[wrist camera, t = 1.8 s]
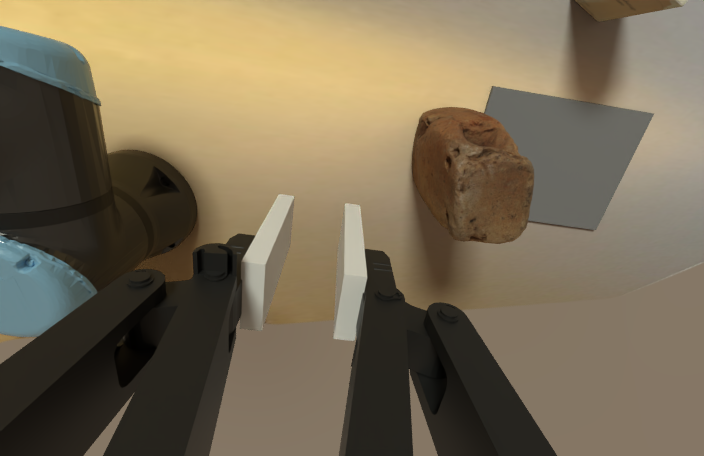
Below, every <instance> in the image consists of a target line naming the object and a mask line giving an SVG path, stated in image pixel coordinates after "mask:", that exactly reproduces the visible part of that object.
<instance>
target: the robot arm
mask: <svg viewBox="0 0 704 456" xmlns="http://www.w3.org/2000/svg"><path fill="white" fill-rule="evenodd" d="M99 106H101V102H100V100H99V99H98V98H97V96H96V91H95V87H94V82H93V78H92V74H91V69H90V66H89V64H88V62H87V60H86V58H85V57H84V56H83V55H82V54H81V53H80V52H79V51H78V50H77V49H75V48H74V47H72V46H70V45H68V44H66V43H63V42H60V41H57V40H53V39H50V38H46V37H42V36H39V35H35V34H31V33H27V32H23V31H19V30H15V29H11V28H7V27H3V26H0V334H4V335H10V336H17V337H37V338H35V339H34V340H33V341H32V342H30V343H29V344H27V345H26V346H25V347H23V348H22V349H21V350H19V351H18V352H16V353H15V354H14V355H12V356H11V357H10V358H9V359H7V360H6V361H4V362H3V363H2V364H0V456H83V455H84V454H85V453H86V451H87V450H88V449H89V448H90V446H91V445H92V444H93V443H94V442H95V440H96V439H97V438H98V437H99V435H100V434H101V433H102V432H103V430H104V429H105V428H106V427H107V426H108V424H109V423H110V422H111V421H112V419H113V418H114V417H115V416H116V414H117V413H118V412H119V411H120V409H121V408H122V407H123V406H124V405H125V403H126V402H127V401H128V400H129V398H130V397H131V396H132V395H133V393H134V392H135V393H134V395H133V397H132V399H131V401H130V403H129V405H128V407H127V409H126V411H125V413H124V415H123V417H122V419H121V421H120V423H119V425H118V427H117V429H116V431H115V433H114V435H113V437H112V439H111V441H110V443H109V445H108V447H107V449H106V451H105V453H104V455H103V456H209V453H210V449H211V444H212V440H213V435H214V431H215V427H216V422H217V418H218V414H219V409H220V405H221V401H222V396H223V392H224V387H225V383H226V379H227V375H228V370H229V366H230V361H231V357H232V352H233V348H234V344H235V339H236V326H237V323H238V321H239V319H240V329H248V330H257V331H262V329H263V326H264V323H265V320H266V317H267V314H268V311H269V308H270V305H271V301H272V298H273V295H274V292H275V289H276V286H277V283H278V280H279V277H280V274H281V271H282V268H283V265H284V262H285V259H286V256H287V253H288V250H289V247H290V241H291V230H292V218H293V207H294V196H290V195H282V194H279V195H278V197H277V199H276V200H275V202H274V204H273V206H272V208H271V209H270V211H269V213H268V215H267V216H266V218H265V220H264V222H263V224H262V225H261V227H260V229H259V231H258V232H257V234H256V236H254V235H246V234H237V235H235V236H234V237H232V238H230V239H229V241H228V242H227V243H226V244H220V243H216V244H207V245H203V246H200V247H198V248H196V249H195V250H194V251H193V269H194V275H193V277H192V279H190V280H185V281H174V282H165V275H164V274H163V273H162V272H160V271H157V270H152V269H142V270H141V269H139V270H135V271H133V270H134V269H135V268H136V267H137V266H138V265H139V264H140V263H141V262H142V261H143V260H145V259H148V258H151V257H154V256H157V255H160V254H163V253H166V252H168V251H170V250H172V249H174V248H175V247H177V246H178V245H179V244H180V243H181V242H182V241H183V240H184V239H185V238H186V237H187V236H188V235H189V234H190V233H191V231H192V229H193V227H194V225H195V222H196V217H197V207H196V201H195V197H194V194H193V192H192V190H191V188H190V186H189V184H188V183H187V181H186V180H185V179H184V177H183V176H182V175H181V174H180V173H179V172H178V171H177V170H176V169H175V168H174V167H173V166H171V165H170V164H169V163H167V162H166V161H164V160H163V159H161V158H159V157H157V156H155V155H152V154H149V153H146V152H142V151H137V150H121V151H116V152H113V153H110V154H107V150H106V144H105V138H104V132H103V126H102V120H101V114H100V108H99ZM355 335H356V336H357V340H356V345H355V350H354V354H353V359H352V365H351V366H352V370H351V377H350V383H349V390H348V397H347V404H346V411H345V418H344V424H343V431H342V438H341V445H340V451H339V456H413V445H412V425H411V408H410V407H411V406H410V387H409V369H410V375H411V377H412V380H413V384H414V386H415V389H416V392H417V395H418V398H419V401H420V404H421V407H422V410H423V413H424V416H425V419H426V422H427V425H428V427H429V430H430V433H431V436H432V439H433V442H434V445H435V448H436V451H437V454H438V456H557V455H556V453H555V452H554V450H553V448H552V447H551V445H550V444H549V442H548V441H547V439H546V438H545V436H544V435H543V433H542V431H541V430H540V428H539V427H538V425H537V424H536V422H535V421H534V419H533V418H532V416H531V414H530V413H529V411H528V410H527V408H526V407H525V405H524V404H523V402H522V401H521V399H520V398H519V396H518V394H517V393H516V392H515V390H514V388H513V387H512V385H511V384H510V382H509V380H508V379H507V377H506V376H505V374H504V373H503V371H502V370H501V368H500V367H499V365H498V363H497V362H496V360H495V359H494V357H493V356H492V354H491V353H490V351H489V350H488V348H487V346H486V345H485V343H484V342H483V340H482V339H481V337H480V336H479V334H478V333H477V331H476V329H475V328H474V326H473V325H472V323H471V322H470V320H469V319H468V317H467V316H466V315H465V313H464V312H463V311H461V310H460V309H458V308H457V307H455V306H453V305H451V304H447V303H441V302H440V303H433V304H431V305H430V306H429V308H428V310H427V311H426V310H423V309H420V308H417V307H414V306H412V305H410V304H408V303H406V302H405V298H404V295H403V294H402V293H401V292H400V291H399V290H398V289H396V285H395V280H394V276H393V272H392V267H391V263H390V259H389V257H388V256H387V255H386V254H385V253H384V252H383V251H377V250H369V249H364V240H363V230H362V220H361V210H360V205H355V204H347V203H345V207H344V213H343V220H342V226H341V233H340V239H339V246H338V256H337V276H336V296H335V317H334V337H333V338H334V339H342V340H350V341H354V340H355Z"/></svg>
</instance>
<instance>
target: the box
mask: <svg viewBox="0 0 704 456" xmlns="http://www.w3.org/2000/svg"><path fill="white" fill-rule="evenodd" d="M575 1H576V2H577V3H578V4H579V5H580V6H581V7H582V8H583V9H585V10H586V11H587V12H588V13H589V14H590V15H591V16H592V17H593V18H594V19H595V20H597V21H598V22H601V21H606V20H612V19H617V18H623V17H628V16H633V15H639V14H644V13H649V12H655V11H660V10H665V9H671V8H676V7H682V6H683V5H684V4H685V3H686V2H687V1H688V0H575Z"/></svg>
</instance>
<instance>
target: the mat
mask: <svg viewBox="0 0 704 456" xmlns="http://www.w3.org/2000/svg"><path fill="white" fill-rule="evenodd" d="M484 114H486V115H489V116H491V117H493V118H495V119H496V120H498V121H499V122H500V123H501V124H502V125H503V126H504V128H505V130H506V131H507V132H508V133H509V134H510V137H511V138H512V139H513V140H514V143H515V144H516V145H517V146H518V153H519V154H520V155H521V156H524V157H527V158H528V160H529V161H531V163H532V165H533V168H534V188H533V195H532V201H531V205H530V213H529V219H528V221H534V222H542V223H549V224H556V225H563V226H570V227H577V228H584V229H591V230H596V229H597V227H598V225H599V223H600V221H601V219H602V217H603V215H604V213H605V211H606V209H607V207H608V205H609V203H610V201H611V199H612V197H613V195H614V193H615V191H616V189H617V187H618V185H619V183H620V181H621V179H622V177H623V175H624V173H625V171H626V169H627V167H628V165H629V163H630V161H631V159H632V157H633V155H634V153H635V151H636V149H637V147H638V145H639V143H640V141H641V139H642V137H643V135H644V133H645V131H646V129H647V127H648V125H649V123H650V121H651V119H652V117H653V115H654V114H652V113H646V112H641V111H635V110H629V109H623V108H617V107H611V106H606V105H600V104H594V103H588V102H582V101H576V100H571V99H565V98H559V97H553V96H547V95H541V94H535V93H530V92H524V91H518V90H512V89H506V88H500V87H495V86H492V89H491V92H490V95H489V99H488V102H487V105H486V109H485V112H484Z"/></svg>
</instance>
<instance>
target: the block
mask: <svg viewBox="0 0 704 456" xmlns="http://www.w3.org/2000/svg"><path fill="white" fill-rule="evenodd" d="M412 170H413V178H414V182H415V184H416V187H417V189H418V191H419V193H420V195H421V197H422V199H423V200H424V202H425V203H426V204H427V206H428V208H429V209H430V211H431V213H432V214H433V215H434V217H435V218H436V219H437V221H439V223H440V224H441V225H442V226H443V227H445V228H447V229H448V230H449V233H450V235H451V236H452V237H453V239H455V240H458V241H477V242H484V243H495V244H501V243H506V242H511V241H514V240H515V239H517V238H518V237H519V236H520V235H521V234H522V232H523V231H524V230H525V229H526V226H527V222H528V219H529V213H530V205H531V201H532V195H533V188H534V168H533V165H532V163H531V161H529V160H528V158H527V157H524V156H521V155H520V154H519V153H518V146H517V145H516V144H515V143H514V140H513V139H512V138H511V137H510V134H509V133H508V132H507V131H506V130H505V128H504V126H503V125H502V124H501V123H500V122H499V121H498V120H496V119H495V118H493V117H491V116H489V115H486V114H484V113H481V112H477V111H474V110H471V109H466V108H457V107H446V108H438V109H433V110H430V111H427V112H425V113H423V114H422V116H421V117H420V119H419V124H418V127H417V130H416V134H415V139H414V146H413V156H412Z"/></svg>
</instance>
